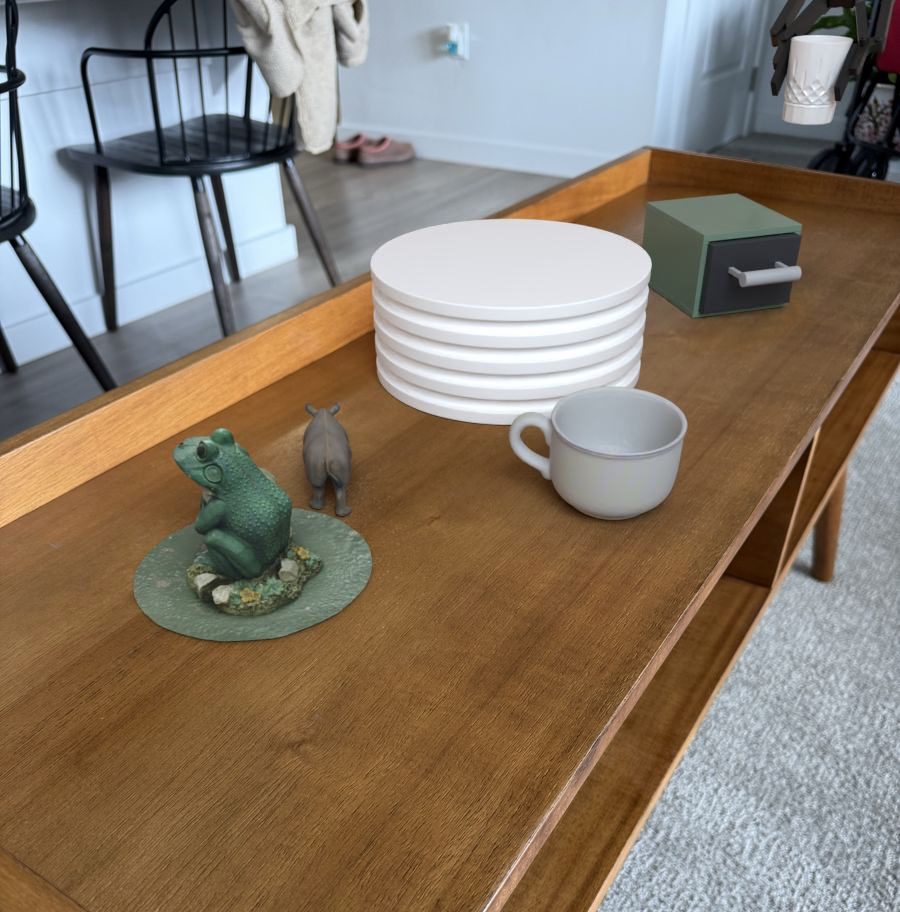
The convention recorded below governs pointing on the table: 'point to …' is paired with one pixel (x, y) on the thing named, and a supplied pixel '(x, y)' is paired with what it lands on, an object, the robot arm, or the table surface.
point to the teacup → (608, 449)
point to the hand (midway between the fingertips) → (805, 91)
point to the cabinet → (701, 241)
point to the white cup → (813, 78)
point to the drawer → (749, 272)
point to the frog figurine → (247, 555)
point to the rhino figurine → (327, 457)
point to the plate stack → (506, 316)
